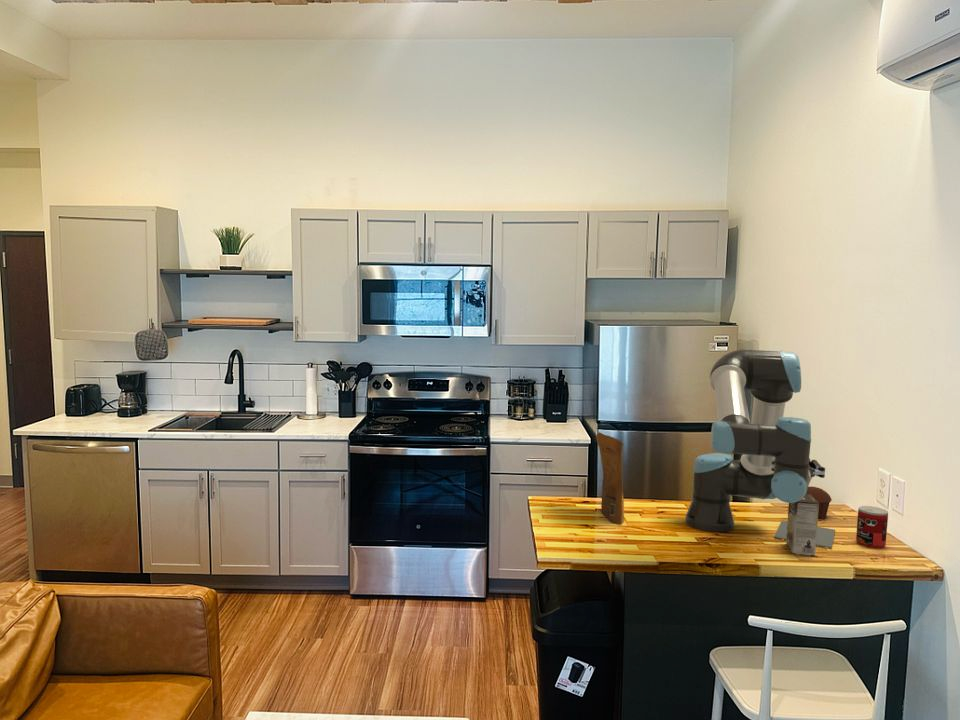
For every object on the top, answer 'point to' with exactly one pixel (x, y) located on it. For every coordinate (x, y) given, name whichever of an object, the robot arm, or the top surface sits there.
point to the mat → (822, 537)
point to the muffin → (820, 500)
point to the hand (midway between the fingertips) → (803, 457)
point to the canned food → (872, 527)
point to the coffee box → (802, 525)
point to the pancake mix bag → (611, 478)
